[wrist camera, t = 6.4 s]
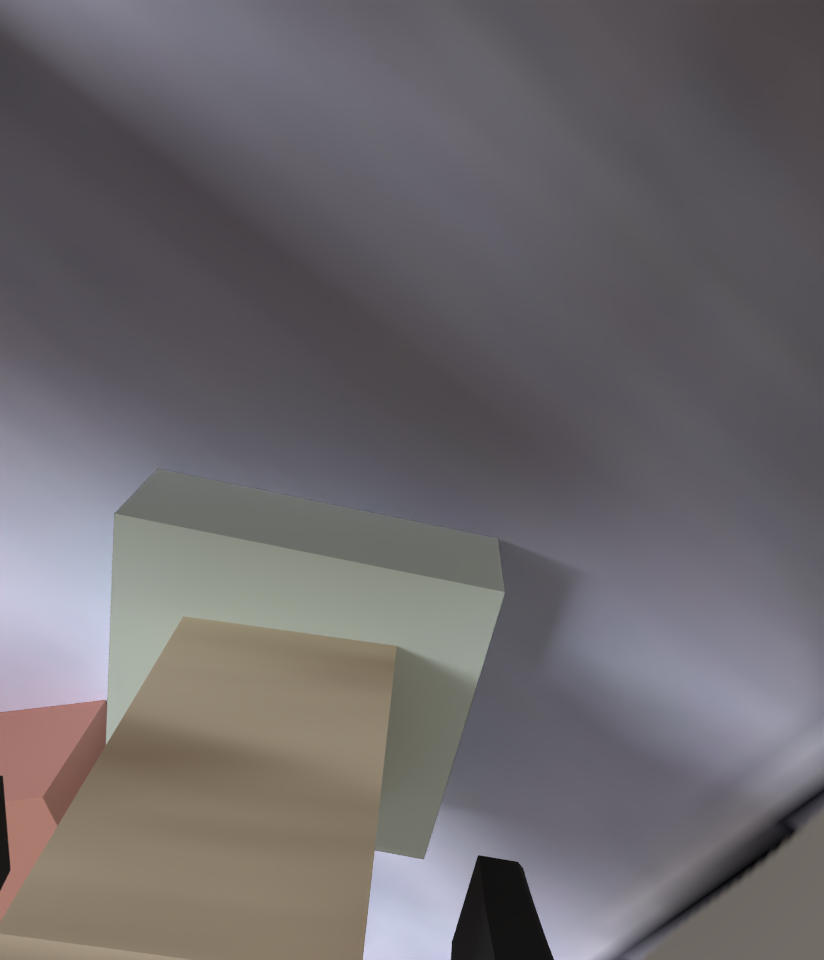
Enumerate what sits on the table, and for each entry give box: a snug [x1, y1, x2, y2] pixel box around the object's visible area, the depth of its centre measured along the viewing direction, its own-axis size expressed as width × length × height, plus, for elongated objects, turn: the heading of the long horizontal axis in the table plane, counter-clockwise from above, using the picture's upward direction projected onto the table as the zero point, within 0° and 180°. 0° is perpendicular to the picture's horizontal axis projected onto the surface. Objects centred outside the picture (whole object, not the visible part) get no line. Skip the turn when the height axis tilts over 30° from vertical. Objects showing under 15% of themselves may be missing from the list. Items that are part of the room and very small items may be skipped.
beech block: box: [0, 616, 397, 960], centre depth 11 cm, size 4×4×6 cm
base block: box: [106, 469, 505, 859], centre depth 15 cm, size 7×7×2 cm
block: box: [0, 700, 107, 921], centre depth 16 cm, size 4×4×3 cm
